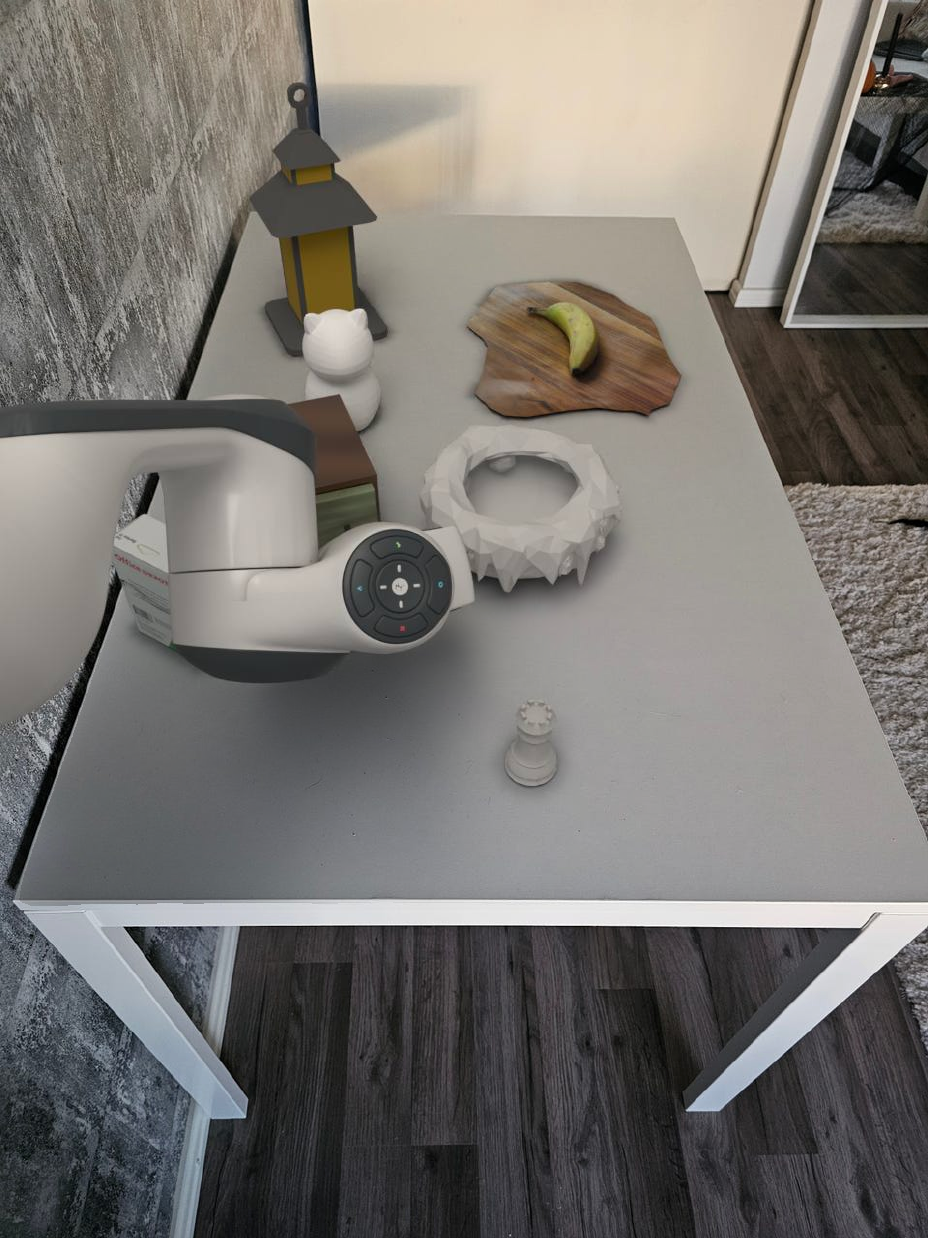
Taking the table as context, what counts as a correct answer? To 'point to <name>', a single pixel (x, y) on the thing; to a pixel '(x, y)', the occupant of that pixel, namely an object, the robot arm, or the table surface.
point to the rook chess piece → (532, 745)
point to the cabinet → (337, 446)
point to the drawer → (344, 511)
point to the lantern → (312, 231)
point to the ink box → (145, 575)
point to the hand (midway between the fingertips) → (340, 591)
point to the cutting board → (569, 351)
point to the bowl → (522, 501)
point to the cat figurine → (342, 362)
